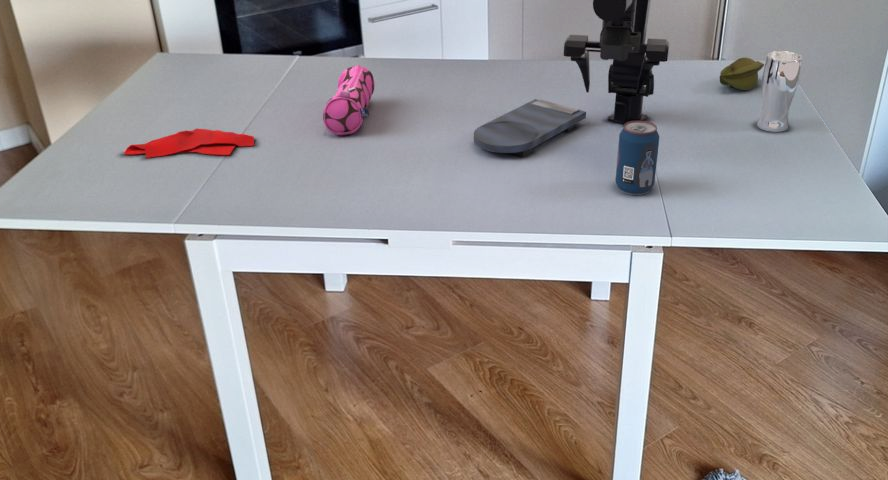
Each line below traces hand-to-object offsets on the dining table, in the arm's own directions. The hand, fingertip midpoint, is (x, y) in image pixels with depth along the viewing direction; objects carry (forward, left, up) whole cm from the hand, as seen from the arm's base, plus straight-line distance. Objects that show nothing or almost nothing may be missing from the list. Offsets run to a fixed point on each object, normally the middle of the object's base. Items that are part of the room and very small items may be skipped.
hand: (612, 93), depth 170 cm
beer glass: (-33, +19, -13) cm, 41 cm away
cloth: (+46, -72, -13) cm, 86 cm away
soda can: (+10, +11, -13) cm, 20 cm away
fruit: (-52, +3, -13) cm, 54 cm away
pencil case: (+16, -55, -13) cm, 58 cm away
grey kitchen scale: (+2, -19, -13) cm, 23 cm away
